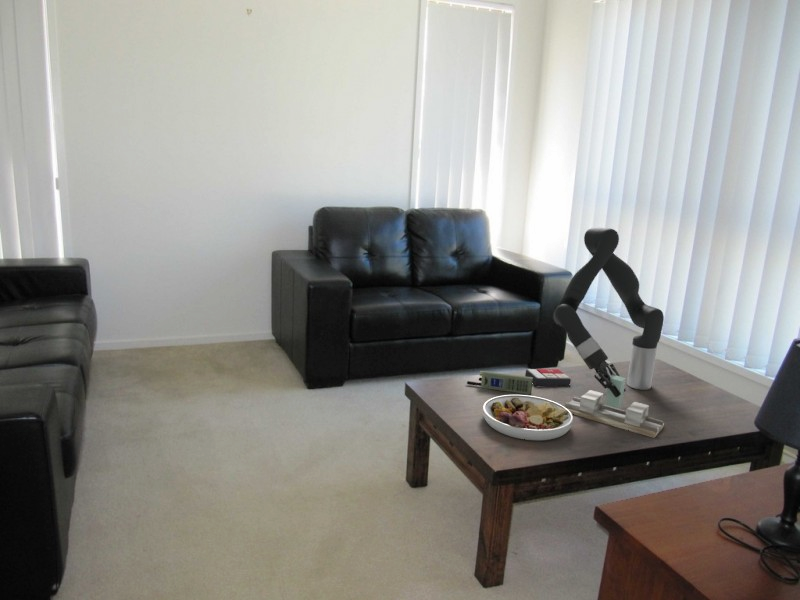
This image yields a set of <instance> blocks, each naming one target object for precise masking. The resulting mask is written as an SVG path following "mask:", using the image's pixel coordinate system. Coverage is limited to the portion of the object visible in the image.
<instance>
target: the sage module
mask: <svg viewBox="0 0 800 600" xmlns="http://www.w3.org/2000/svg"><path fill="white" fill-rule="evenodd" d="M626 379H627V378H626V377H623V376H617V375H616V376H614V375H612V379H611V380H612V381H613V383H614V386H616V387H617V389H618V390H619V392H620V393H621V395H620V396H618V397H615V396H614V395H613V393H612V392H611V390H610V389H608V388H606V394H605V395H606V396H605V397H606V398H605V403H604V405H606V406H610V407H614V408H617V409H620V407H621V406H622V405H623V401H624V395H625V394H624V393H625V392H624V388H625V386H626V382H627V380H626ZM609 382H610V381H609ZM625 389H626V388H625Z"/></svg>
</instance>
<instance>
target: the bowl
mask: <svg viewBox="0 0 800 600" xmlns="http://www.w3.org/2000/svg"><path fill="white" fill-rule="evenodd" d="M482 415H483V418H484V420H485V421H486V423H487V424H488V425H489V426H490V428H493V430H496V431H497V432H499V433H500V434H503V435H506V436H507V437H511V438H514V439H520V440H524V439H525V440H526V441H549V440H554V439H557V438H560V437H562V436H564V435H565V434H566V433H568V432H569V431H570V429H571V428H572V425H573V421H574V415H573V414H571V412H570V411H569V410H568V409H567V408H565V406H563V405H562V404H560V403H558V402H556V401H553V400H550V399H548V398H544V397H539V396H534V395H529V394H504V395H503V394H502V395H499V396H498V395H497V396H495V397H492V398H489V399H488V400H487V401H485V402H484V403H483V406H482Z"/></svg>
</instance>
